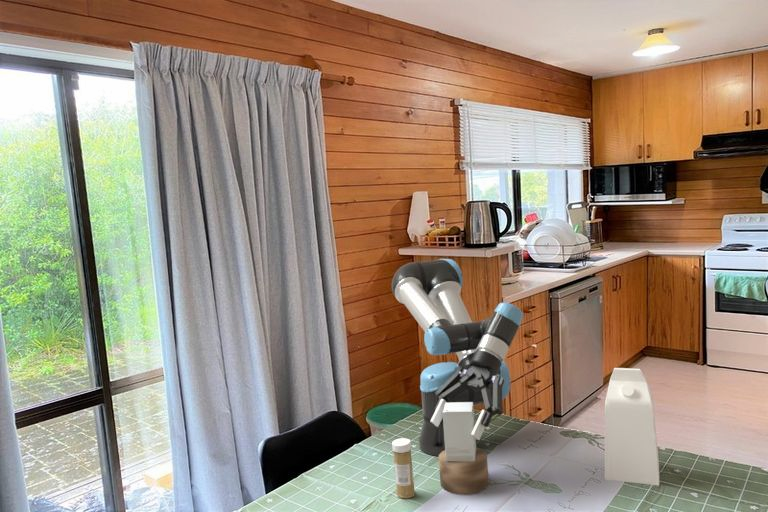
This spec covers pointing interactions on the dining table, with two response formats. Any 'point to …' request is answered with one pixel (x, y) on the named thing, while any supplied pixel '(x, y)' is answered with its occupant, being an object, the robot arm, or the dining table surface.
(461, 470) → the brown cylinder
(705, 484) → the dining table surface
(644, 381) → the milk
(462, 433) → the supplement box
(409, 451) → the sprinkles bottle
